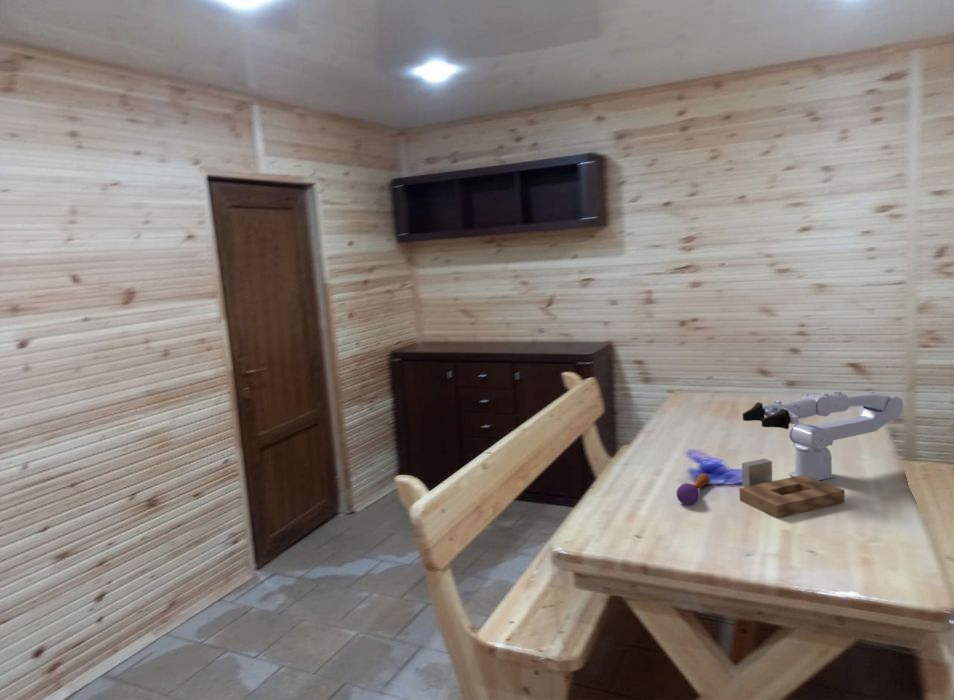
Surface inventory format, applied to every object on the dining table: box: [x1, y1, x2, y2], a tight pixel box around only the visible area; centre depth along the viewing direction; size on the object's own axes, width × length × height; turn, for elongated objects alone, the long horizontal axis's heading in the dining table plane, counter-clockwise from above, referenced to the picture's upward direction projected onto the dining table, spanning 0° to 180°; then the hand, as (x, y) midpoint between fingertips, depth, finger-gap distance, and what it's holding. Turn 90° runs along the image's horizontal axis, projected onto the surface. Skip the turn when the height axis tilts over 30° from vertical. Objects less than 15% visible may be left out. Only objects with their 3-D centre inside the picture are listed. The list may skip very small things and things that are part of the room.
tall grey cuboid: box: [741, 458, 773, 487], centre depth 186 cm, size 8×3×7 cm, turn 107°
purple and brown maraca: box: [676, 473, 711, 506], centre depth 182 cm, size 6×6×20 cm
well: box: [739, 475, 846, 520], centre depth 173 cm, size 22×14×4 cm, turn 107°
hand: (752, 420), depth 181 cm, fingers open, 7 cm apart
